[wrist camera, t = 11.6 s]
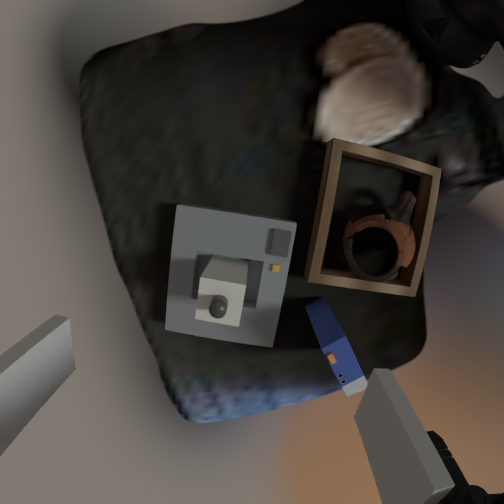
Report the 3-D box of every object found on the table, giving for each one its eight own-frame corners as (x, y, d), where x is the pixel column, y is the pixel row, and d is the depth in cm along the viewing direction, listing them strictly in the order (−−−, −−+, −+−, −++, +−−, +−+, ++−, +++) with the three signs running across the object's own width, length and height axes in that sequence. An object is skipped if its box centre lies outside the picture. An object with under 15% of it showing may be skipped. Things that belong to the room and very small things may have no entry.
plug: (248, 260, 39) (245, 292, 27) (242, 293, 40) (237, 335, 28) (213, 254, 39) (196, 283, 27) (209, 287, 40) (191, 327, 28)
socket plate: (294, 220, 39) (297, 224, 35) (271, 337, 42) (272, 349, 38) (182, 203, 38) (175, 204, 35) (170, 320, 41) (163, 331, 38)
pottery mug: (398, 278, 41) (391, 302, 34) (341, 248, 44) (323, 265, 37) (435, 201, 35) (438, 210, 28) (373, 171, 39) (361, 172, 32)
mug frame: (428, 169, 37) (441, 169, 33) (404, 288, 40) (414, 296, 37) (327, 142, 36) (333, 138, 33) (303, 273, 40) (308, 281, 36)
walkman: (304, 306, 41) (321, 350, 29) (322, 296, 41) (346, 337, 29) (327, 350, 42) (347, 400, 30) (344, 341, 42) (370, 389, 30)
